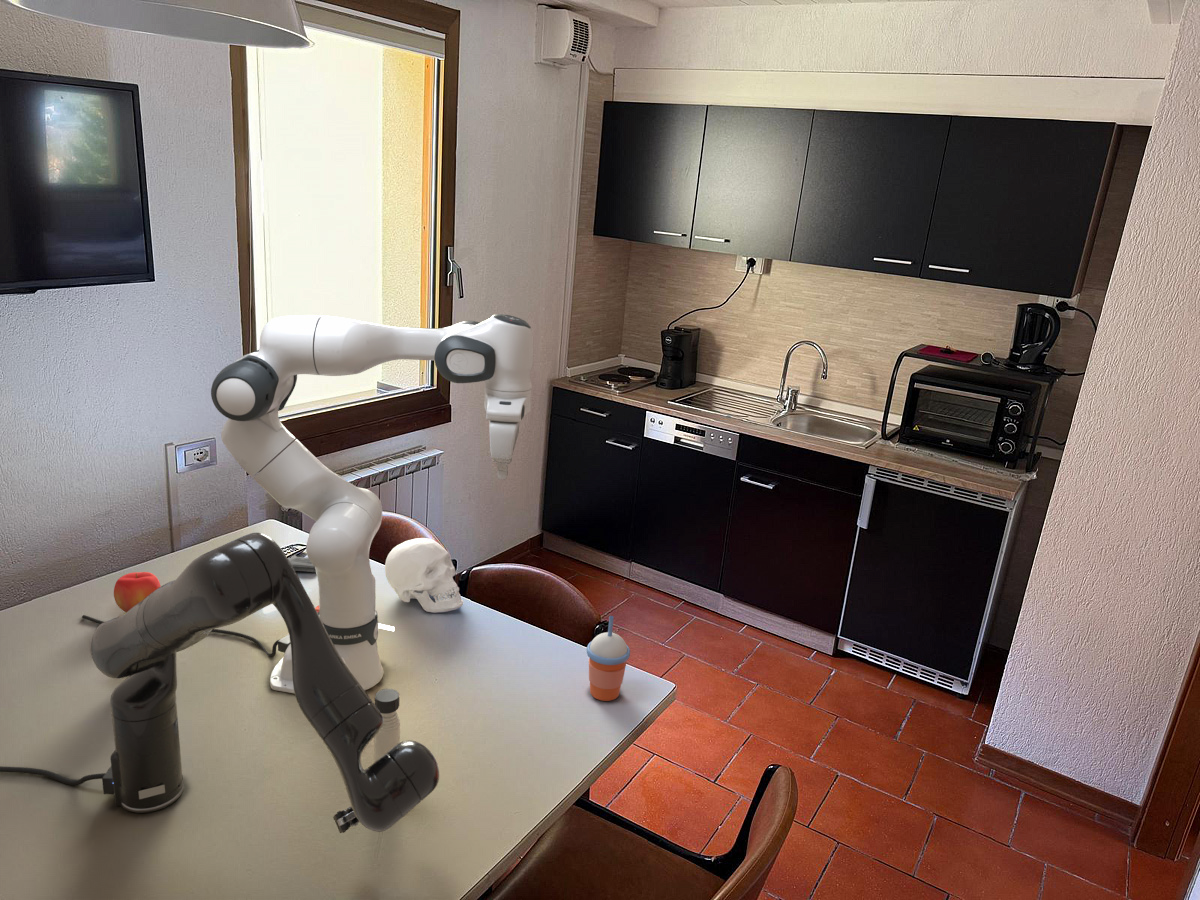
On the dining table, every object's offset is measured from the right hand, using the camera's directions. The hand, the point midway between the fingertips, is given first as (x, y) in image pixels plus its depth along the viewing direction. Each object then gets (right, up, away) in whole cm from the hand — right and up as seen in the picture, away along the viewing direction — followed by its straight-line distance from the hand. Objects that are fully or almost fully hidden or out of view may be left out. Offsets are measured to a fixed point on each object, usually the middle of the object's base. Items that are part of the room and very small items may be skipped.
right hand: (504, 470), depth 166 cm
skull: (-25, -34, +47) cm, 63 cm away
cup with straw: (+20, -48, +14) cm, 53 cm away
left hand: (-14, -49, -37) cm, 63 cm away
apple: (-87, -34, +30) cm, 99 cm away
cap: (-16, -36, -27) cm, 48 cm away
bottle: (-18, -55, -21) cm, 62 cm away
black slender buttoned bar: (-62, -29, +54) cm, 87 cm away
